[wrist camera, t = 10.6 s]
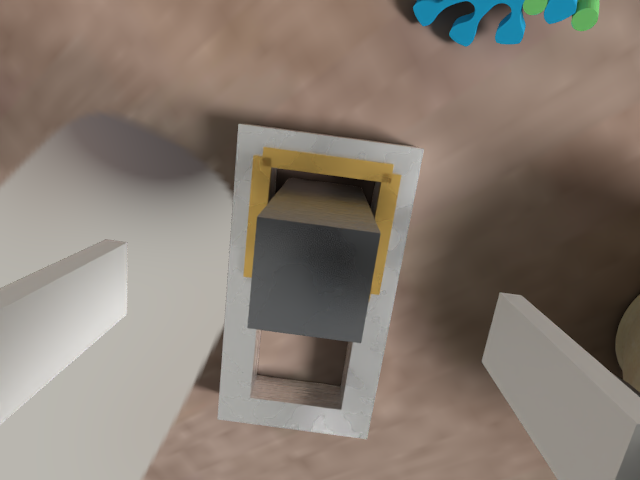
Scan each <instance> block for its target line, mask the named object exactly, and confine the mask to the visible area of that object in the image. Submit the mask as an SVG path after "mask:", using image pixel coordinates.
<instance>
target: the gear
mask: <svg viewBox="0 0 640 480" xmlns="http://www.w3.org/2000/svg"><path fill="white" fill-rule="evenodd" d="M463 1H468V2H471V3H472V4H473V5H474V7H475V11H474V12H473V13H471V14H467V15H464V16H461V17H459V18H457V19H456V20H455V22H454V24H453V26H452V28H451V31H450V33H449V36H450V37H451V38H452V39H453V40H454V41H455V42H457V43H459V44H461V45H463V46H468V45H470V44H471V43H472V41H473V40H474V37H475V34H476V32H477V29H478V23H479V21H480V20H481V18H482V17H483V16H484V15H485V14H486V13H487V12H488V11H489V10H490V9H491V8H492V7H494V6H495V5H497V4H500V3H505V4H507V5H509V6H510V8H511V12H510V13H509V14H508V15H507V16H506V17H505V18H504V19H503V20H502V21H501V22H500V23H499V26H498V29H497V32H496V36H495V40H496V42H497V43H500V44H519V43H520V42H521V40H522V38H523V35H524V31H525V26H526V25H525V21H524V18H523V13H522V6H523V9H524V11H525V12H526V13H527V14H529V15H537V14H539V13H541V12H542V11H543V10H544V9H545V11H544V18H545V20H546V22H547V23H549V24H552V23H556V22H559V21H561V20H564V19H566V18H568V17H569V16H571V15H572V22H571V24H572V27H573V28H574V29H575V30H578V31H585V30H588V29H590V28H592V27H593V26H594V25H595V24H596V22H597V20H598V13H599V0H417V1H416V3H415V5H414V6H413V10H414V13H415V16H416V17H417V19H418V21H419V22H420V23H421V25H422V26H427V25H430V24H431V23H432V22H433V21H434V20H435V18H436V17H437V15H438V14H439V13H440V12H441V11H442V10H444V9H445V8H447V7H448V6H450V5H453V4H456V3H459V2H463Z"/></svg>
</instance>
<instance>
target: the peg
mask: <svg viewBox="0 0 640 480" xmlns="http://www.w3.org/2000/svg"><path fill="white" fill-rule="evenodd" d="M380 235H381V233H380V230H379V228H378V226H377V223H376V221H375V219H374V216H373V214H372V212H371V209H370V207H369V204H368V202H367V200H366V197H365V195H364V193H363V190H362V188H361V187H359V186H352V185H344V184H337V183H329V182H322V181H314V180H307V179H299V178H292V177H290V178H289V179H288V180H287V181H286V183H285V184H284V185H283V186H282V187H281V189H280V190H279V191H278V192H277V193H276V195H275V196H274V197H273V198H272V199H271V201H270V202H269V203H268V204H267V205H266V207H265V208H264V209H263V210H262V211H261V213H260V214H259V215H258V216H257V223H256V234H255V246H254V257H253V269H252V280H251V291H250V303H249V314H248V326H247V328H250V329H258V330H265V331H273V332H280V333H288V334H295V335H303V336H310V337H318V338H326V339H333V340H341V341H348V342H356V343H361V342H362V336H363V330H364V325H365V319H366V314H367V308H368V302H369V297H370V291H371V285H372V280H373V274H374V268H375V263H376V257H377V251H378V246H379V240H380Z"/></svg>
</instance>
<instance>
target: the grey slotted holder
mask: <svg viewBox="0 0 640 480" xmlns="http://www.w3.org/2000/svg"><path fill="white" fill-rule="evenodd" d="M423 152H424V149H422V148H419V147H415V146H408V145H400V144H393V143H386V142H378V141H371V140H363V139H356V138H349V137H341V136H334V135H326V134H319V133H311V132H304V131H297V130H289V129H282V128H274V127H267V126H260V125H252V124H238V138H237V152H236V166H235V180H234V194H233V208H232V223H231V238H230V251H229V265H228V279H227V295H226V308H225V322H224V336H223V350H222V364H221V378H220V392H219V407H218V419H219V420H227V421H234V422H242V423H249V424H257V425H265V426H272V427H280V428H287V429H295V430H302V431H310V432H317V433H325V434H332V435H340V436H347V437H355V438H362V439H367V436H368V431H369V426H370V421H371V416H372V411H373V406H374V401H375V395H376V390H377V385H378V380H379V375H380V370H381V365H382V360H383V355H384V350H385V345H386V340H387V334H388V329H389V324H390V319H391V314H392V309H393V304H394V299H395V294H396V289H397V284H398V279H399V273H400V268H401V263H402V258H403V253H404V248H405V243H406V238H407V233H408V228H409V223H410V218H411V212H412V207H413V202H414V197H415V192H416V187H417V182H418V177H419V172H420V167H421V162H422V157H423ZM278 168H280V169H288V170H295V171H303V172H310V173H317V174H325V175H332V176H340V177H347V178H355V179H362V180H369V181H375V185H374V191H373V197H372V203H371V212H372V214H373V216H374V219H375V221H376V223H377V226H378V228H379V230H380V233H381V235H380V240H379V246H378V251H377V257H376V263H375V268H374V274H373V280H372V285H371V291H370V297H369V302H368V308H367V314H366V319H365V325H364V330H363V336H362V342H361V343H356V342H348V346H347V352H346V358H345V364H344V370H343V376H342V382H341V386H336V385H329V384H321V383H314V382H306V381H299V380H291V379H284V378H276V377H269V376H261V375H257V370H258V360H259V350H260V340H261V330H258V329H250V328H247V326H248V314H249V303H250V291H251V280H252V269H253V257H254V246H255V234H256V223H257V216H258V215H259V214H260V213H261V211H262V210H263V209H264V208H265V207H266V205H267V204H268V203H269V202H270V201H271V199H272V198H273V197H274V196H275V189H276V179H277V169H278Z"/></svg>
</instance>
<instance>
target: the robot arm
mask: <svg viewBox="0 0 640 480" xmlns="http://www.w3.org/2000/svg"><path fill="white" fill-rule="evenodd" d="M125 315H127V242H122V241H114V240H107V239H105V240H103V241H101V242H99V243H97V244H95V245H93V246H90V247H88V248H86V249H84V250H82V251H79V252H78V253H75V254H73V255H71V256H69V257H67V258H64V259H62V260H60V261H58V262H56V263H54V264H51V265H49V266H47V267H45V268H43V269H41V270H38V271H36V272H34V273H32V274H30V275H28V276H26V277H23V278H21V279H19V280H17V281H15V282H13V283H10V284H8V285H6V286H4V287H2V288H0V424H2V423H3V422H4V421H5V420H6V419H7V418H8V417H10V416H11V415H12V414H13V413H14V412H15V411H16V410H17V409H19V408H20V407H21V406H22V405H23V404H25V403H26V402H27V401H28V400H29V399H30V398H31V397H32V396H34V395H35V394H36V393H37V392H38V391H39V390H41V389H42V388H43V387H44V386H45V385H46V384H47V383H49V382H50V381H51V380H52V379H53V378H54V377H55V376H57V375H58V374H59V373H60V372H61V371H62V370H63V369H65V368H66V367H67V366H68V365H69V364H70V363H71V362H73V361H74V360H75V359H76V358H77V357H78V356H80V355H81V354H82V353H83V352H84V351H85V350H86V349H88V348H89V347H90V346H91V345H92V344H93V343H94V342H96V341H97V340H98V339H99V338H100V337H101V336H102V335H104V334H105V333H106V332H107V331H108V330H109V329H110V328H112V327H113V326H114V325H115V324H116V323H117V322H118V321H120V320H121V319H122V318H123V317H124V316H125ZM482 363H483V365H484V366H485V368H486V370H487V371H488V373H489V374H490V376H491V377H492V379H493V380H494V382H495V383H496V385H497V387H498V388H499V390H500V391H501V393H502V394H503V396H504V397H505V399H506V400H507V402H508V404H509V405H510V407H511V408H512V410H513V411H514V413H515V414H516V416H517V417H518V419H519V421H520V422H521V424H522V425H523V427H524V428H525V430H526V431H527V433H528V434H529V436H530V438H531V439H532V441H533V442H534V444H535V445H536V447H537V448H538V450H539V451H540V453H541V455H542V456H543V458H544V459H545V461H546V462H547V464H548V465H549V467H550V468H551V470H552V472H553V473H554V475H555V476H556V478H557V479H558V480H640V392H638V391H637V390H636V389H635V388H634V387H633V386H631V385H630V384H629V383H628V382H626V381H624V380H622V379H621V378H619V377H617V376H616V375H614V374H612V373H611V372H610V371H609V370H608V369H606V368H605V367H604V366H603V365H602V364H601V363H599V362H598V361H597V360H596V359H595V358H594V357H593V356H591V355H590V354H589V353H588V352H587V351H586V350H584V349H583V348H582V347H581V346H580V345H579V344H577V343H576V342H575V341H574V340H573V339H572V338H570V337H569V336H568V335H567V334H566V333H565V332H563V331H562V330H561V329H560V328H559V327H558V326H557V325H555V324H554V323H553V322H552V321H551V320H550V319H548V318H547V317H546V316H545V315H544V314H543V313H541V312H540V311H539V310H538V309H537V308H536V307H534V306H533V305H532V304H531V303H530V302H529V301H527V300H526V299H525V298H524V297H523V296H522V295H516V294H508V293H501V292H500V293H499V297H498V301H497V305H496V309H495V312H494V316H493V320H492V324H491V328H490V331H489V335H488V339H487V343H486V347H485V350H484V354H483V358H482Z"/></svg>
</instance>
